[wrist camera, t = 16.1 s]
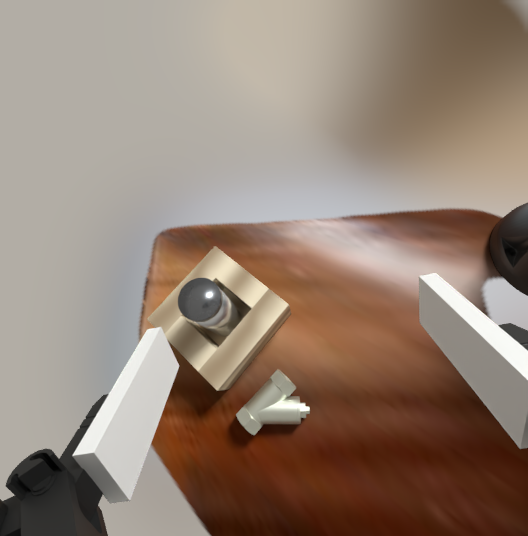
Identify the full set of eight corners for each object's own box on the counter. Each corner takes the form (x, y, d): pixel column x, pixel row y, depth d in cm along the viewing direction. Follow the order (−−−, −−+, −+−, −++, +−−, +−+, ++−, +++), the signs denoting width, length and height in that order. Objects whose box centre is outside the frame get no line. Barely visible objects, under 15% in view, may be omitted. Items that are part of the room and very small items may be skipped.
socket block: (291, 313, 45) (288, 304, 39) (229, 388, 42) (217, 390, 36) (225, 260, 49) (215, 245, 44) (166, 326, 47) (147, 319, 41)
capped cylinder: (248, 317, 44) (229, 295, 33) (225, 343, 43) (197, 329, 32) (225, 296, 46) (199, 269, 35) (202, 320, 45) (169, 300, 34)
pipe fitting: (314, 404, 40) (278, 368, 42) (316, 409, 37) (277, 369, 39) (273, 450, 39) (238, 411, 41) (272, 460, 36) (233, 416, 37)
